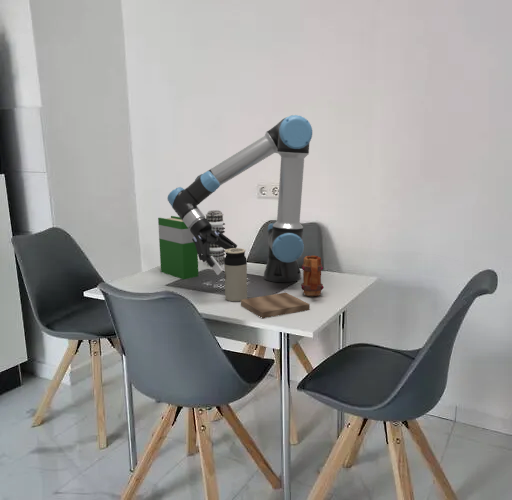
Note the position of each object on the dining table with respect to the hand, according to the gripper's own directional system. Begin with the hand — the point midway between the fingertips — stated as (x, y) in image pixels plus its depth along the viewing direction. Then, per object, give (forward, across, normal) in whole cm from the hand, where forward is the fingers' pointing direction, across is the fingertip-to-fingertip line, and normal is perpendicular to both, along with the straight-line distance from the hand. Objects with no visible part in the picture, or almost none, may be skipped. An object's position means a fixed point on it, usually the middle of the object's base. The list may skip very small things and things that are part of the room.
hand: (231, 268), depth 194 cm
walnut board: (+21, +1, +5) cm, 22 cm away
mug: (+25, -16, +9) cm, 31 cm away
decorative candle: (-18, -38, -34) cm, 55 cm away
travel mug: (+9, -1, -7) cm, 11 cm away
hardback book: (-21, -18, -37) cm, 46 cm away
